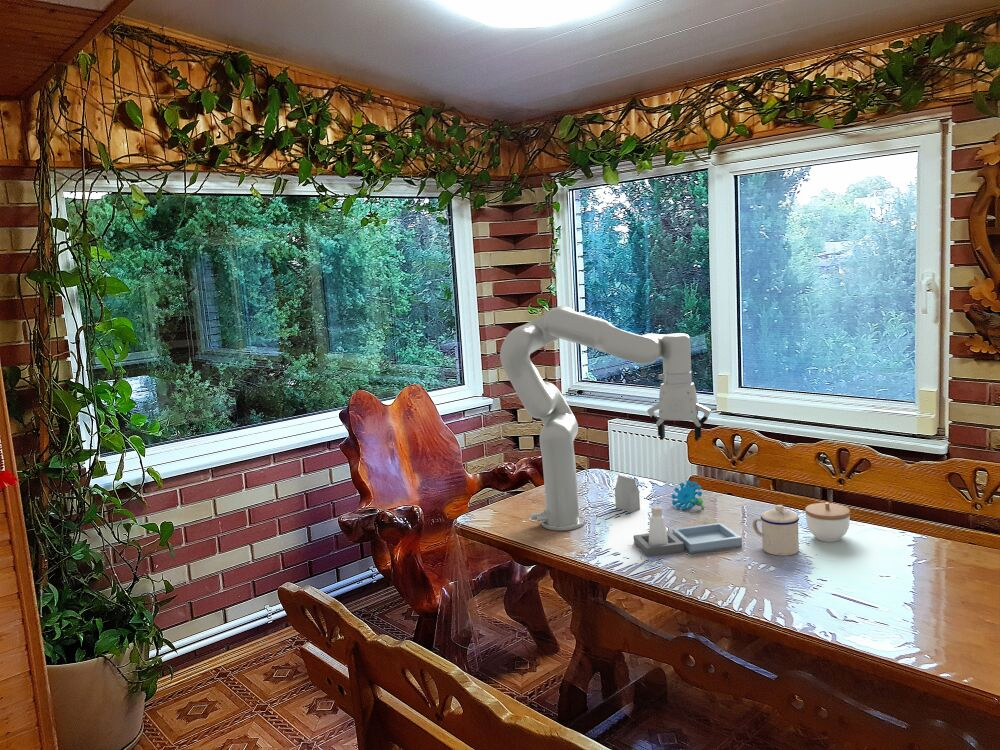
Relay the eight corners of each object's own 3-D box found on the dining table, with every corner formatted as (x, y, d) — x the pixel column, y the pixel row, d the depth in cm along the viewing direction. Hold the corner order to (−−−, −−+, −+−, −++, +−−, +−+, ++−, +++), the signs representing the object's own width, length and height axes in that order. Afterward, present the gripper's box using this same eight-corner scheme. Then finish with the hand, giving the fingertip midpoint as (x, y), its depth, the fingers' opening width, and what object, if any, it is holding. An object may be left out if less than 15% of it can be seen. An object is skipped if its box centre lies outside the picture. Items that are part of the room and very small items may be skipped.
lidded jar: (852, 546, 191) (852, 510, 190) (806, 544, 195) (806, 509, 193) (848, 531, 201) (847, 497, 200) (804, 529, 205) (804, 496, 203)
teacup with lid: (806, 548, 192) (805, 504, 190) (788, 559, 186) (787, 514, 184) (762, 538, 201) (761, 495, 199) (744, 548, 195) (743, 504, 193)
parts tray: (691, 553, 194) (690, 544, 194) (672, 537, 206) (672, 529, 205) (742, 546, 196) (741, 537, 196) (721, 531, 208) (720, 522, 208)
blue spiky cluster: (664, 500, 232) (683, 474, 234) (674, 510, 235) (692, 484, 237) (688, 514, 223) (708, 487, 224) (698, 524, 226) (718, 497, 227)
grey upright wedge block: (631, 512, 229) (629, 480, 227) (615, 507, 234) (613, 476, 233) (640, 509, 231) (638, 477, 229) (624, 504, 236) (622, 473, 235)
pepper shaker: (644, 548, 200) (642, 508, 198) (655, 542, 204) (653, 502, 202) (661, 552, 196) (659, 511, 195) (673, 546, 200) (671, 506, 198)
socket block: (647, 556, 194) (646, 548, 194) (634, 543, 204) (633, 535, 204) (684, 551, 196) (683, 543, 195) (669, 538, 206) (668, 530, 205)
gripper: (643, 381, 209) (645, 441, 211) (707, 380, 201) (709, 443, 204) (649, 376, 215) (652, 435, 218) (711, 376, 208) (713, 437, 210)
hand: (679, 439), depth 211 cm, fingers open, 9 cm apart
